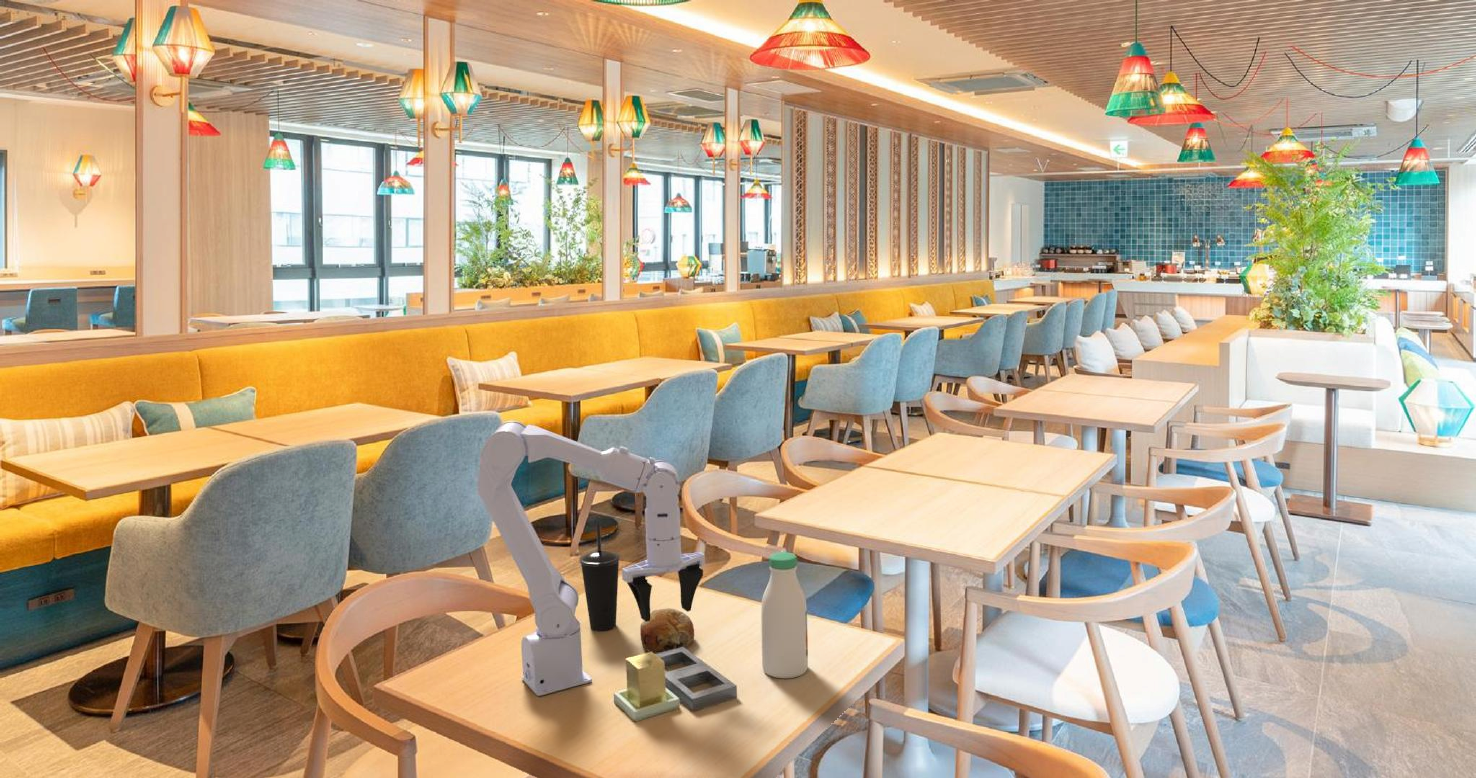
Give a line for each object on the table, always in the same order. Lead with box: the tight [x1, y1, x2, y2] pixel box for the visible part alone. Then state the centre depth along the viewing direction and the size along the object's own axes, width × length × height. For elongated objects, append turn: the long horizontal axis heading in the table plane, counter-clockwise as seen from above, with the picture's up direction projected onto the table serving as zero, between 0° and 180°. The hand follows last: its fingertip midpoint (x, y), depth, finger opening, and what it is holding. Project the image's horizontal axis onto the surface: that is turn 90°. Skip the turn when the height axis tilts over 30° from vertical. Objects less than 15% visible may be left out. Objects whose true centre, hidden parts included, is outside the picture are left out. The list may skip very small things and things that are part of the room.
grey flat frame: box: [654, 647, 738, 712], centre depth 156 cm, size 8×18×2 cm, turn 31°
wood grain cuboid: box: [625, 651, 666, 709], centre depth 149 cm, size 4×4×7 cm
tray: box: [613, 687, 681, 722], centre depth 149 cm, size 8×8×2 cm
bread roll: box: [639, 607, 695, 654], centre depth 173 cm, size 10×10×8 cm
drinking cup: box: [578, 523, 621, 632], centre depth 179 cm, size 8×8×20 cm
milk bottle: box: [760, 551, 809, 679], centre depth 159 cm, size 8×8×20 cm
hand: (666, 614), depth 159 cm, fingers open, 7 cm apart
